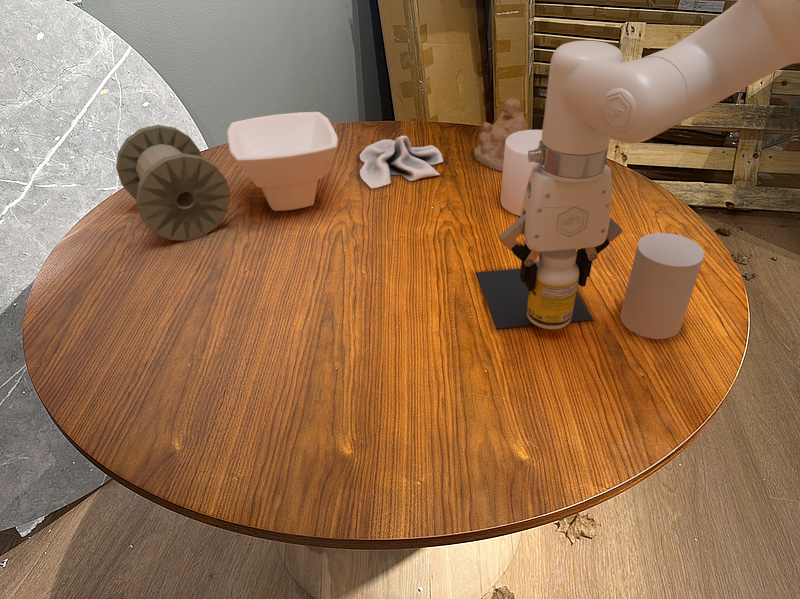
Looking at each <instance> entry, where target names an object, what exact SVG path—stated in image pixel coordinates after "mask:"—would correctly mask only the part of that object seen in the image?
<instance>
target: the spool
mask: <svg viewBox="0 0 800 599" xmlns="http://www.w3.org/2000/svg"><path fill="white" fill-rule="evenodd" d="M115 169H116V173H117V175H118V178H119V181H120V184H121V185H122V187H123V188H124V189H125V190H126V191H127V193H128V194H129V195H130V196H131V197H132V198H133V199H135V203H136V206H137V209H138V212H139V215H140V218H141V220H142V221H143V223H144V224H145V225H146V226H147V227H149V229H150V230H151V231H152V232H153V234H156V235H158V236H161V237H163V238H165V239H167V240H170V241H182V242H183V241H185V242H186V241H191V240H194V239H198V238H201V237H204V236H206V235H207V234H209V233H210V232H212V231H213V230H215V228H217V227H218V226H219V225H220V224H221V222H222V220H223V219H224V217H225V216H226V214H227V212H228V210H229V205H230V199H231V192H230V188H229V184H228V180H227V178H226V177H225V176H224V175H223V173H222V171H220V169H219V168H218V167H217V165H216V164H215V163H213V162H211V161H210V160H207V159H206V158H205V157H203V156H202V153H201V150H200V148H199V147H198V146H197V145H196V143H195V142H194V140H192V138H191V137H190V136H189V135H187V133H185V132H183V131H181V130H179V129H178V128H176V127H173V126H168V125H162V124H156V125H155V124H154V125H151V126H146V127H141V128H140V129H138V130H136V131H134V133H132V134H130V135H129V136H128V137H126V138H125V140H124V142H123V143H122V145H121V146H120V148H119V149H118V151H117V157H116V166H115Z"/></svg>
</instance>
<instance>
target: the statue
mask: <svg viewBox="0 0 800 599" xmlns="http://www.w3.org/2000/svg"><path fill="white" fill-rule="evenodd" d="M521 107H522V103H521V101H520V100H519V99H518V98H516V97H509V98H507V99H506V100H505V101H504V103H503V107H502V113H500V115H499V117H498V118H497V119H496V121H495V122H494V123H493V124H492V123H491V122H487V121H484V122H483V123H482V132H481V133H479V138H478V139H479V145H478V146H476V147H475V148H474V150H473V157H474V159H475V160H476V161H477V162H479V163H480V164H482V165H483V166H485V167H487V168H490V169H493V170H495V171H499V172H503V162H504V150H505V141H506V139H507V138H508V137H509V136H510V135H511V134H513V133H516V132H519V131H524V130H527V128H526V127H527V126H526V118H525V115H524V114H523V113H522V112H521Z"/></svg>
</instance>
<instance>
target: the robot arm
mask: <svg viewBox="0 0 800 599" xmlns="http://www.w3.org/2000/svg"><path fill="white" fill-rule="evenodd" d="M795 64H800V0H738V1H736V2H735V3H734V4H732V5H731V6H730V7H729V8H727V9H726V10H725V11H723V12H722V13H721V14H719V15H717V16H716V17H715V18H713V19H712V20H710V21H709V22H707V23H706V24H704V25H703V26H702V27H700V28H699V29H697V30H696V31H694V32H693V33H691V34H689V35H688V36H686V37H684V38H683V39H682V40H680V41H679V42H677V43H675V44H673V45H671V46H669V47H667V48H665V49H662V50H658V51H656V52H653V53H651V54H649V55H645V56H644V57H640V58H637V59H632V60H628V61H625V58H624V54H623V53H622V51H621V49H620V48H618V47H617V46H615V45H613V44H611V43H608V42H603V41H598V40H575V41H569V42H566V43H563V44H561V45H560V46H558V47H557V48H556V49H555V50H554V51H553V54H552V56H551V58H550V64H549V71H548V78H547V87H546V95H545V96H546V97H545V105H544V114H543V122H542V123H543V124H542V129H541V130H542V140H541V141H539V146H538V149H535V150H529V151H528V161H529V162H535V163H536V164H534V166H533V169H532V171H531V174H530V177H529V180H528V183H527V187H526V191H525V195H524V200H523V205H522V211H521V216H519V218H517V219H516V220H515V221H513V222H512V224H510V225H509V226H508V227H507V228H506V229H505V230H504V231H502V232H501V233H500V234H499V236H498V237H499V240H500V242H501V244H502V245H503V246H504V247H506V248H507V249H508V250H509V251H510V252H512V254H513V255H514V256H516V257H517V259H519V260H520V261H521V263H520V264H521V265H520V269H521V271H520V278H521V281H522V283H525V284H526V286H527V289H528V291H533V290H534V289H535V282H536V275H537V265H536V263H535V261H536V260H537V259H538V258H539V254H540V252H546V251H559V250H571V249H576V251H577V256H576V261H575V263H576V264H577V266H578V267H579V280H578V286H579V287H586V285H587V279H588V278H589V277H590V276H591V271H592V266H593V261H596V260H597V259H598V255H599V254H600V253H601V252H602V251H604V250H605V249H606V248H607V247H609V245H610V243H611V242H613V241H615V239H616V238H618V237H619V236H620V235H621V234H622V233H623V228H622V227H621V225H620V224H619V223H617V222H616V220H615V219H614V218H613V217H612V216H611V211H612V198H613V197H612V196H613V193H612V192H613V178H612V177H613V175H612V169H611V167H610V166H608V164H607V158H608V152H609V147H610V142H611V139H612V140H614V141H617V142H620V143H624V144H640V143H644V142H646V141H648V140H650V139H652V138H654V137H656V136H658V135H660V134H662V133H664V132H666V131H667V130H669V129H671V128H673V127H675V126H677V125H678V124H680V123H682V122H684V121H686V120H688V119H691V118H692V117H694V116H696V115H699V114H700V113H702V112H704V111H705V110H707V109H709V108H711V107H713V106H714V105H716V104H718V103H720V102H722V101H724V100H726V99H727V98H730V97H731V96H733V95H734V94H736V93H738V92H740V91H741V90H744V89H745V88H747V87H749V86H751V85H753V84H754V83H756V82H758V81H760V80H762V79H764V78H765V77H768V76H769V75H771V74H774V73H776V72H777V71H779V70H781V69H783V68H785V67H787V66H790V65H795ZM521 235H523V236H524V242H523V243H520V242H519V241H518V240H516V239H517V238H518V237H520V236H521Z"/></svg>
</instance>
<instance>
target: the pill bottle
mask: <svg viewBox="0 0 800 599" xmlns="http://www.w3.org/2000/svg"><path fill="white" fill-rule="evenodd" d="M576 256H577V249H571V250H559V251H546V252H540V254H539V255H538V257H537V259H536V260H535V263H536V265H537V275H536V282H535V289H534V290H533V291H529V295H528V303H527V316H528V319H529V320H530V321H531V322H532V323H533V324H535V325H536V326H535V327H539V328H541V329H545V330H559V329H563V328H565V327H566V326H567V325H569V324H570V323H569V322H570V321H571V318H572V314H573V308H574V302H575V297H576V291H577V292H578V286H579V284H578V280H579V267H578V266H577V264H576V263H575V261H576Z"/></svg>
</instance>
